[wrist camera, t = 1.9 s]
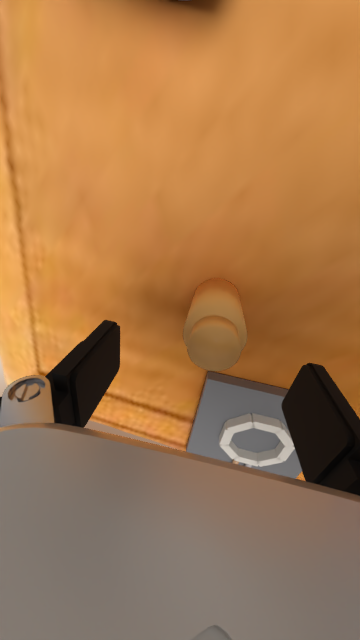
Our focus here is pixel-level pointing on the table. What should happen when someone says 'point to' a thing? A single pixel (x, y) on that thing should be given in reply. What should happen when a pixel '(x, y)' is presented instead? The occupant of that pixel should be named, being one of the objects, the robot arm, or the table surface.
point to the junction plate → (243, 425)
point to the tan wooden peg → (215, 326)
